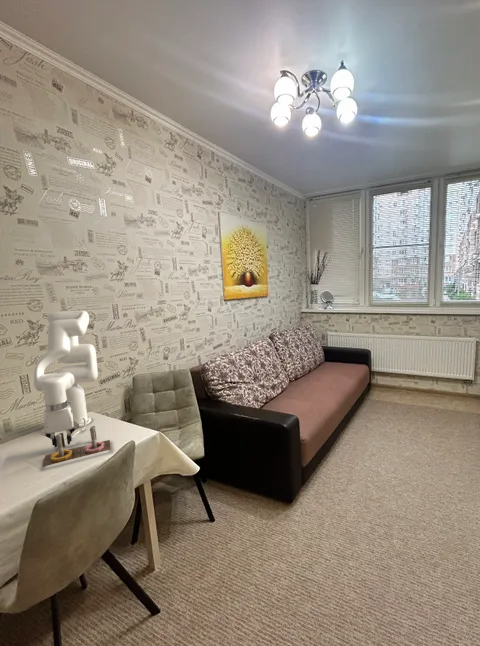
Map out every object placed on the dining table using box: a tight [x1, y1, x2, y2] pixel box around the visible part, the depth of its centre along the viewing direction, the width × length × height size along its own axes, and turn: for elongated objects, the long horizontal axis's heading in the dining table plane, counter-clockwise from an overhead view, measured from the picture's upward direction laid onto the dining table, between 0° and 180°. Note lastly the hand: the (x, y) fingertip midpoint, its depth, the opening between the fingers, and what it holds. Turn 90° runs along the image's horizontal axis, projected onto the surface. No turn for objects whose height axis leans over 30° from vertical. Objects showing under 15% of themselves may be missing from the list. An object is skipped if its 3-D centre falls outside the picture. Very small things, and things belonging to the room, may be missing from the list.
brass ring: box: [50, 432, 72, 461], centre depth 132 cm, size 12×7×7 cm, turn 32°
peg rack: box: [41, 426, 111, 468], centre depth 133 cm, size 10×24×12 cm, turn 122°
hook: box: [71, 417, 87, 440], centre depth 149 cm, size 7×9×20 cm
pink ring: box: [85, 425, 104, 453], centre depth 138 cm, size 12×7×7 cm, turn 32°
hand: (62, 444), depth 136 cm, fingers open, 4 cm apart
